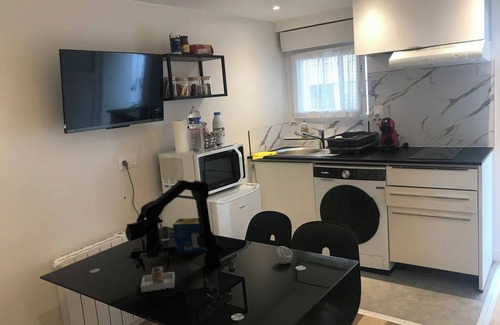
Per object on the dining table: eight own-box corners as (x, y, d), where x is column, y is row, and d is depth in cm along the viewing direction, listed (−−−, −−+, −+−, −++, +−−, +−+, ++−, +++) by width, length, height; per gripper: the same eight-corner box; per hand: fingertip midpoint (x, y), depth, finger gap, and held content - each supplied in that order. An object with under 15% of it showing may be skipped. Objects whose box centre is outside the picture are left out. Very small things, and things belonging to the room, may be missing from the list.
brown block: (163, 279, 182) (162, 264, 181) (163, 285, 176) (161, 269, 175) (154, 281, 181) (152, 266, 180) (153, 287, 175) (151, 271, 174)
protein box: (181, 247, 225) (178, 218, 223) (209, 245, 223) (206, 217, 221) (175, 254, 215) (171, 224, 213) (204, 253, 213) (201, 223, 211)
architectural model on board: (143, 254, 220) (141, 236, 219) (139, 253, 221) (137, 235, 220) (158, 247, 230) (156, 229, 228) (154, 246, 231) (152, 229, 230)
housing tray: (174, 277, 185) (174, 271, 185) (174, 287, 174) (173, 281, 174) (143, 281, 183) (143, 275, 183) (141, 292, 172) (140, 286, 172)
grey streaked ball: (286, 267, 185) (285, 250, 184) (272, 265, 189) (270, 248, 188) (296, 261, 191) (294, 245, 190) (281, 259, 196) (280, 242, 195)
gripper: (126, 243, 167) (131, 281, 169) (174, 237, 169) (179, 275, 171) (130, 235, 177) (134, 271, 180) (175, 229, 180) (179, 265, 182)
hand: (156, 270), depth 178 cm, fingers open, 9 cm apart
